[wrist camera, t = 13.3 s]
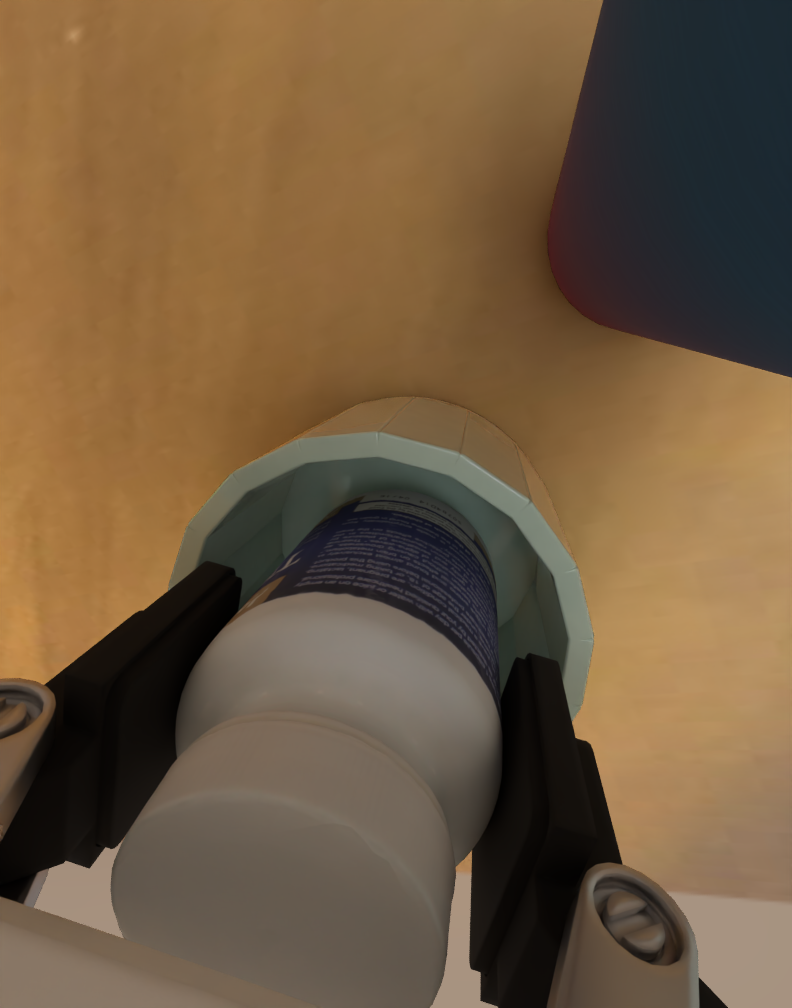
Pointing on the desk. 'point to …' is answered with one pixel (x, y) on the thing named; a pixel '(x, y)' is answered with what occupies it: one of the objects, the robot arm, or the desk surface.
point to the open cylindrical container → (418, 468)
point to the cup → (683, 179)
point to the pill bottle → (331, 766)
